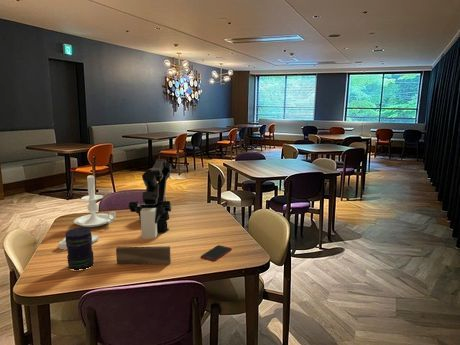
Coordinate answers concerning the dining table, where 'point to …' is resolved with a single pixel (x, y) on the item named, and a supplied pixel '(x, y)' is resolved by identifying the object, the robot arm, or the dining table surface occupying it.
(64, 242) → the white brass knuckles
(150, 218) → the off-white cabinet box
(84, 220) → the candlestick
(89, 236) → the storage jar
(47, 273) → the dining table surface
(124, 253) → the stand
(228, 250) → the cell phone
